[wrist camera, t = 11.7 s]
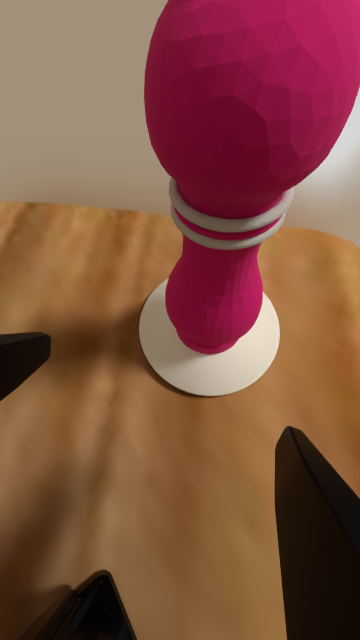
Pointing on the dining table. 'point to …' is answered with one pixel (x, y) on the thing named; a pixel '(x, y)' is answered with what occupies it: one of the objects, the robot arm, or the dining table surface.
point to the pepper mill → (241, 139)
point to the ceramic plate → (207, 369)
